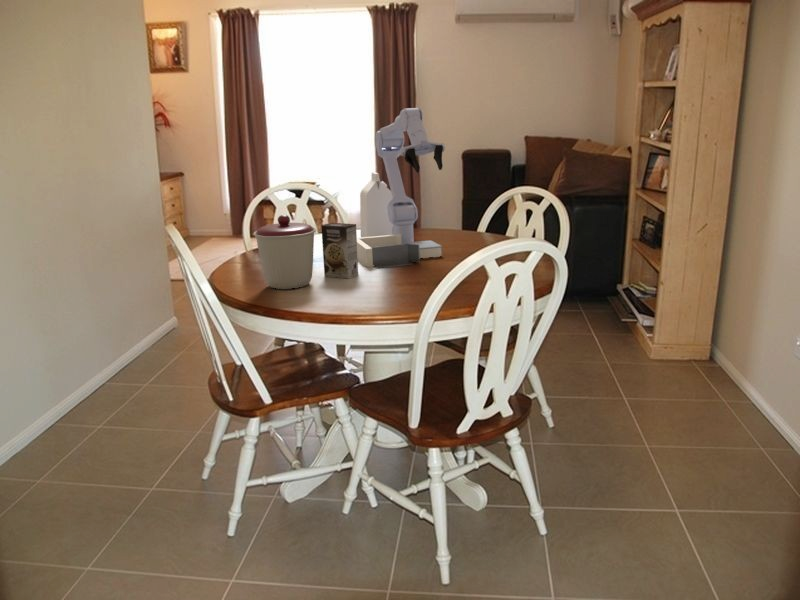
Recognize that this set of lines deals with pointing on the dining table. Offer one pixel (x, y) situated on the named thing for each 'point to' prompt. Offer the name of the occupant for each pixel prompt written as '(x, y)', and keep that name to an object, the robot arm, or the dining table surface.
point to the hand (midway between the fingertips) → (429, 169)
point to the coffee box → (340, 250)
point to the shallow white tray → (367, 242)
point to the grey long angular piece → (395, 255)
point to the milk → (375, 208)
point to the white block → (428, 249)
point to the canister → (286, 253)
